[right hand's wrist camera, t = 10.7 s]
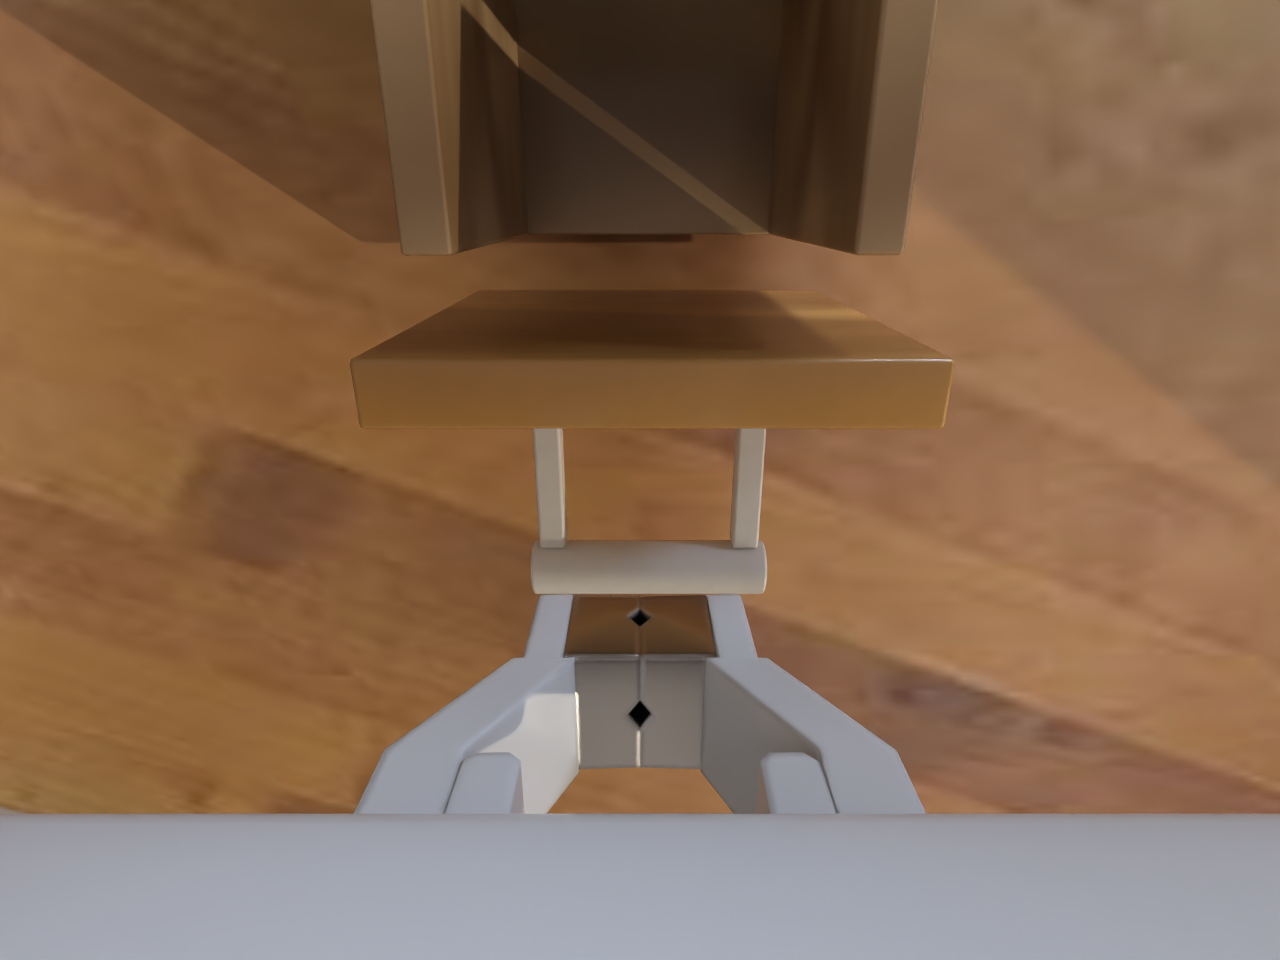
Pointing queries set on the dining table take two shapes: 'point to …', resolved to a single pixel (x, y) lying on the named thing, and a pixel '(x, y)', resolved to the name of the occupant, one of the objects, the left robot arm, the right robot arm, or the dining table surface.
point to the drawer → (652, 204)
